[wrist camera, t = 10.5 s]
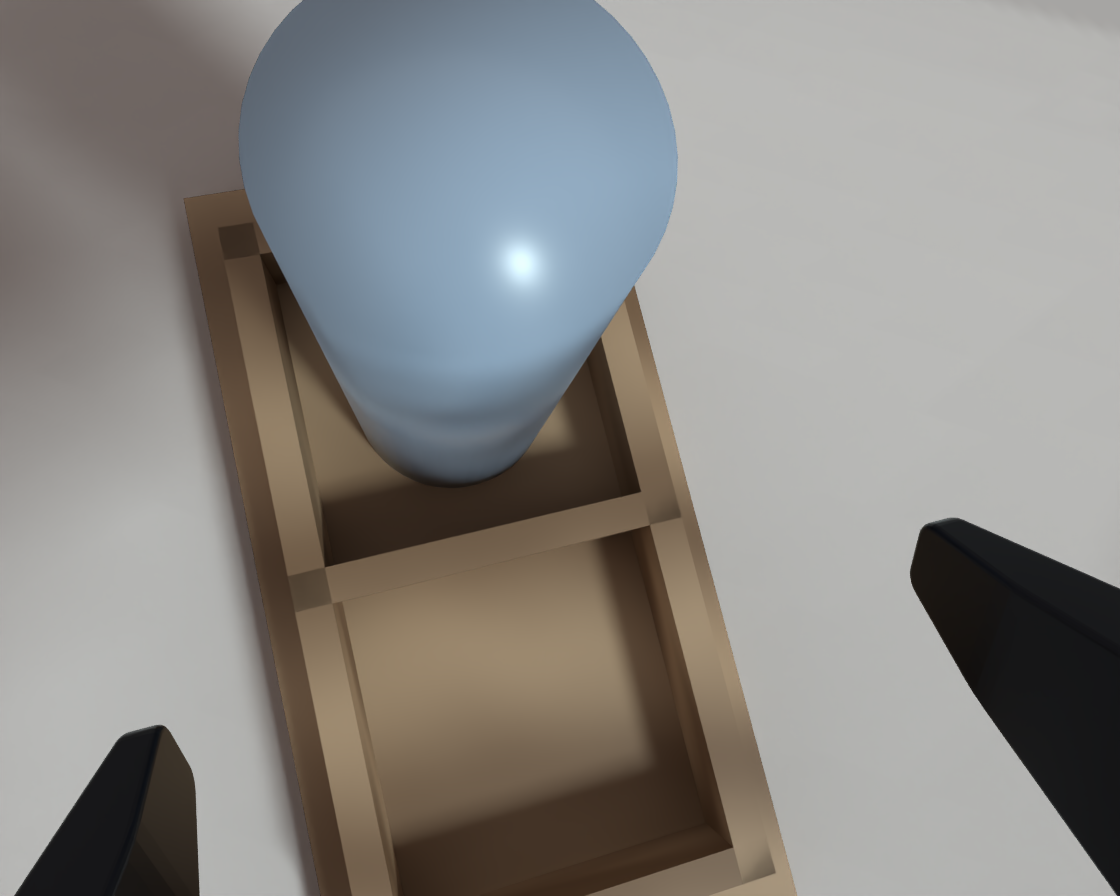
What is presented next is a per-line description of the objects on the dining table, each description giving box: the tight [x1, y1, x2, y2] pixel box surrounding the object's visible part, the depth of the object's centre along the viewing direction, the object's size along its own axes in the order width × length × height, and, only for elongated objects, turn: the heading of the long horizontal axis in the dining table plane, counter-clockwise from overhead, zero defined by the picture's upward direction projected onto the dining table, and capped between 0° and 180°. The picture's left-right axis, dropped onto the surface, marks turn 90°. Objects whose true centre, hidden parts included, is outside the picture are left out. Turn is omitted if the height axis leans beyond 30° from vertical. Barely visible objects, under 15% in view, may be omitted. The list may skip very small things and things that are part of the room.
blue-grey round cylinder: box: [239, 0, 678, 488], centre depth 15 cm, size 5×5×12 cm
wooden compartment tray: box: [184, 189, 797, 896], centre depth 20 cm, size 21×11×3 cm, turn 14°
